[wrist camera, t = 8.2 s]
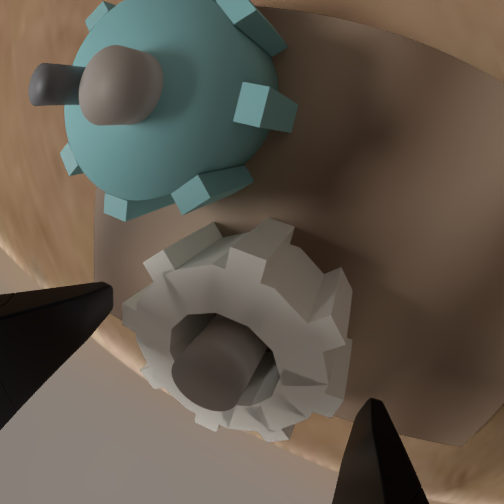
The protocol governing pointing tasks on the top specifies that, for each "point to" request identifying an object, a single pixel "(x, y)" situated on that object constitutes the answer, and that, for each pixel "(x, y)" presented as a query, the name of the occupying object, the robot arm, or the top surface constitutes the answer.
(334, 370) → the off-white gear
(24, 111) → the top surface
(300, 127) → the gear board
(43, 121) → the top surface
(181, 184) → the teal gear
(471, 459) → the top surface
